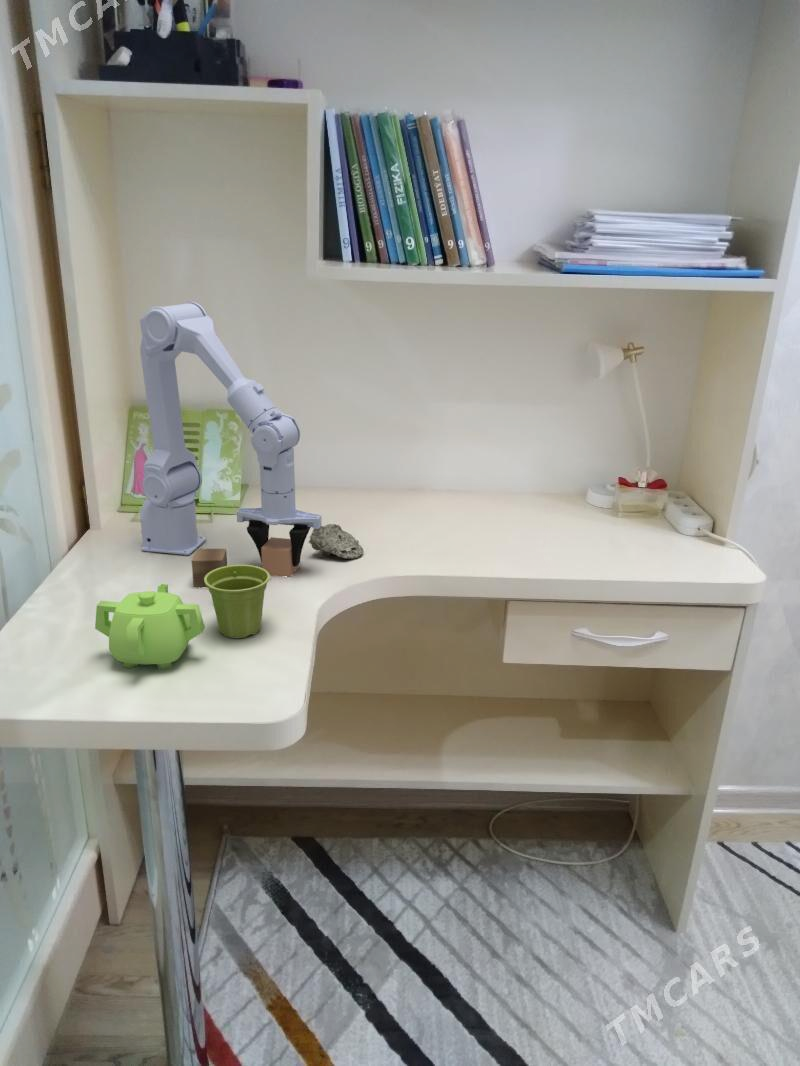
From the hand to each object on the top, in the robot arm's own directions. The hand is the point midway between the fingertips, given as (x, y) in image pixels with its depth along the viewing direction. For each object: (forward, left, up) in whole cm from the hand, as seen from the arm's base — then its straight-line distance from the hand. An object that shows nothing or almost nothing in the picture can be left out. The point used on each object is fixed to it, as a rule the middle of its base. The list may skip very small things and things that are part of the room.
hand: (280, 562), depth 144 cm
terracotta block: (0, 0, -1) cm, 1 cm away
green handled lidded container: (-8, -32, -2) cm, 33 cm away
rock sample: (+8, +10, -2) cm, 13 cm away
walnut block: (-10, -7, -2) cm, 12 cm away
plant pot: (+1, -22, -2) cm, 22 cm away
